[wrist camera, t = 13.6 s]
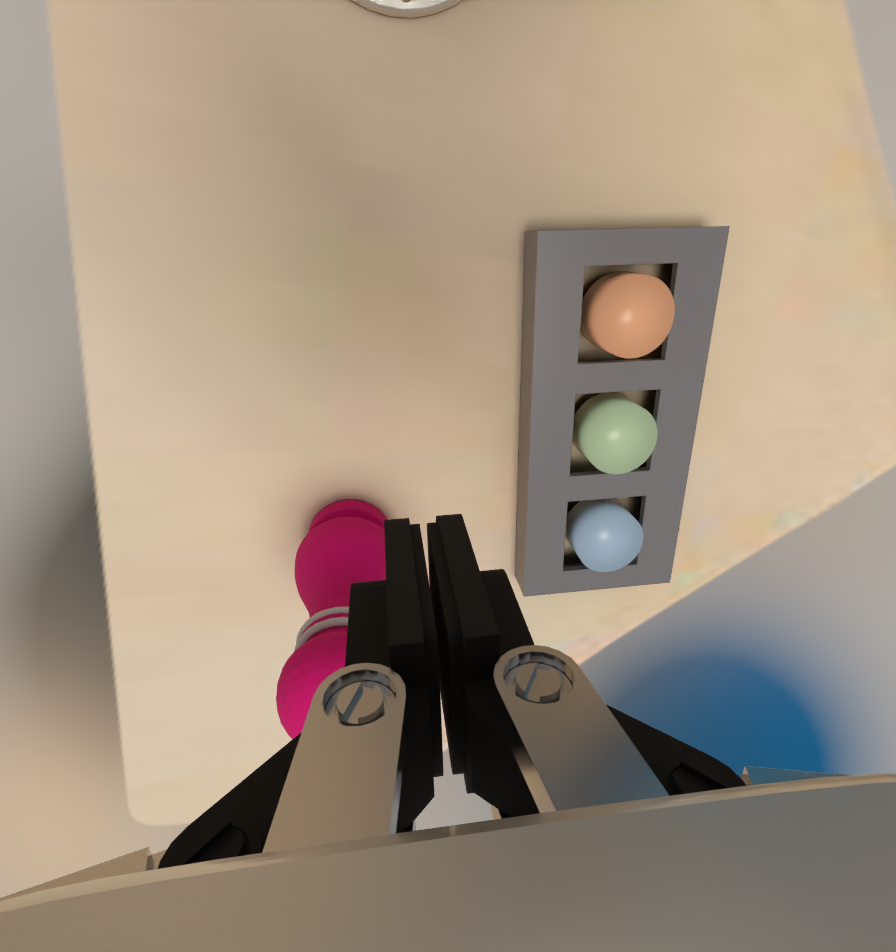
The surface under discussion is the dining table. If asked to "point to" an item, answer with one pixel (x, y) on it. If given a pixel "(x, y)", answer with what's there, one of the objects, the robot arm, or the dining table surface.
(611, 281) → the terracotta button
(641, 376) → the button panel
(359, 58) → the dining table surface
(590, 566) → the blue button
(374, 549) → the pepper mill
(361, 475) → the dining table surface
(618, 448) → the sage button
